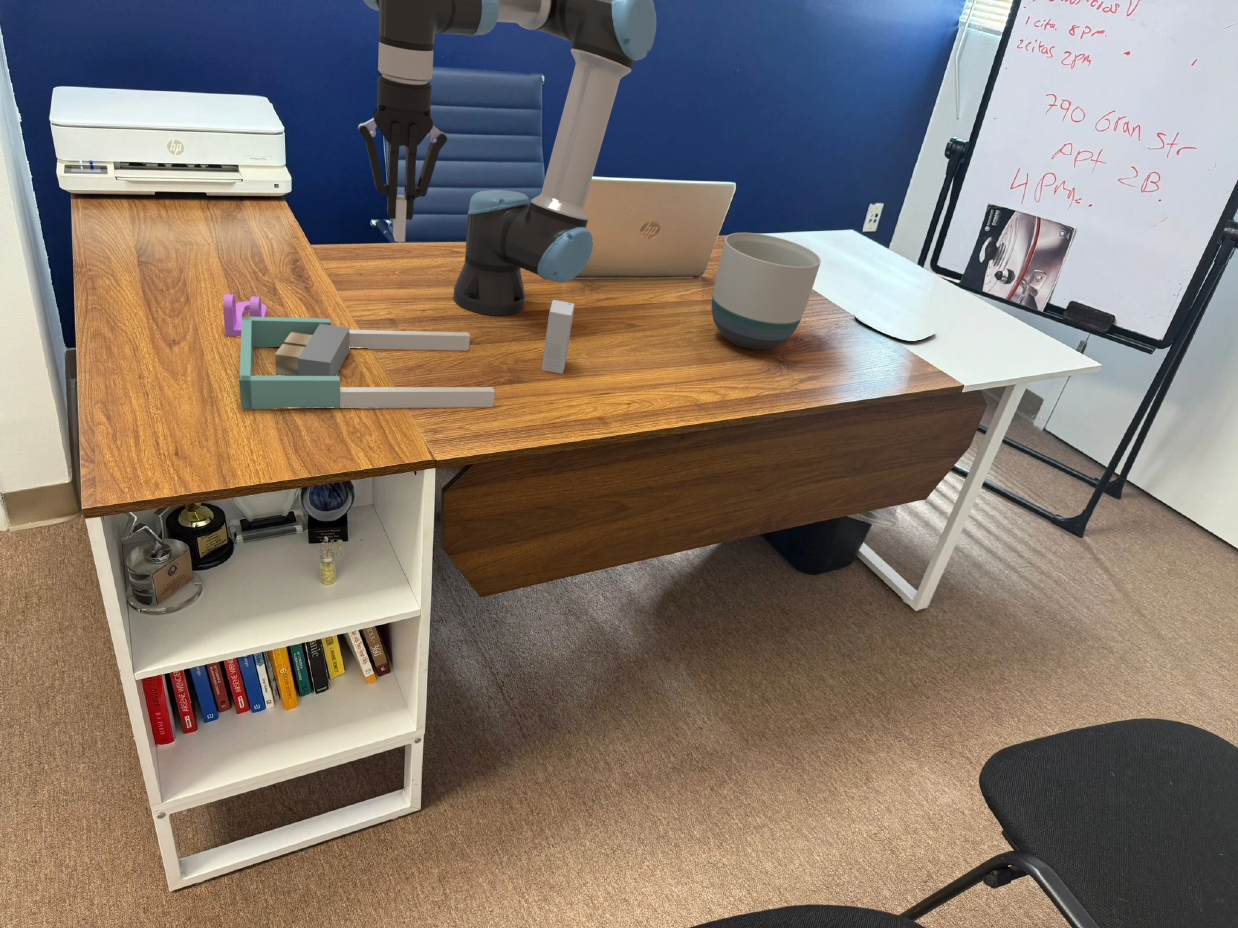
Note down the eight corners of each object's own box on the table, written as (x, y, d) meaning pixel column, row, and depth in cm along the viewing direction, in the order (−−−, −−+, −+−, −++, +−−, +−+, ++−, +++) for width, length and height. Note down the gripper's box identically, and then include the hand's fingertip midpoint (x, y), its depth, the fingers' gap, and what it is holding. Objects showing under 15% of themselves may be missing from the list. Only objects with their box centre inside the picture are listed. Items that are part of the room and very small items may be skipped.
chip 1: (315, 356, 146) (315, 335, 144) (309, 366, 143) (308, 345, 141) (291, 353, 146) (291, 332, 144) (284, 363, 142) (284, 341, 140)
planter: (739, 318, 199) (763, 229, 188) (809, 353, 188) (839, 261, 177) (682, 331, 185) (705, 236, 174) (754, 371, 174) (783, 272, 163)
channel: (467, 347, 160) (468, 332, 158) (492, 407, 142) (494, 391, 140) (330, 344, 151) (330, 329, 149) (340, 408, 133) (340, 391, 131)
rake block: (349, 353, 150) (349, 327, 147) (330, 390, 138) (330, 362, 135) (320, 349, 149) (319, 323, 146) (298, 386, 137) (297, 358, 135)
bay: (330, 344, 151) (330, 318, 148) (339, 408, 133) (339, 380, 130) (243, 343, 145) (241, 316, 143) (241, 409, 128) (239, 380, 125)
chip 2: (307, 369, 142) (307, 347, 140) (301, 379, 139) (300, 357, 137) (283, 365, 142) (282, 343, 140) (276, 376, 138) (275, 354, 136)
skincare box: (544, 357, 162) (552, 298, 156) (566, 361, 162) (575, 303, 156) (540, 370, 157) (549, 310, 151) (563, 374, 157) (572, 315, 151)
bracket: (259, 339, 148) (258, 301, 145) (225, 336, 147) (222, 299, 143) (268, 309, 159) (267, 274, 155) (236, 307, 157) (234, 271, 154)
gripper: (446, 79, 126) (436, 233, 138) (355, 67, 121) (353, 228, 133) (455, 89, 120) (444, 249, 132) (359, 77, 115) (357, 244, 128)
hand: (399, 238), depth 133 cm, fingers closed
